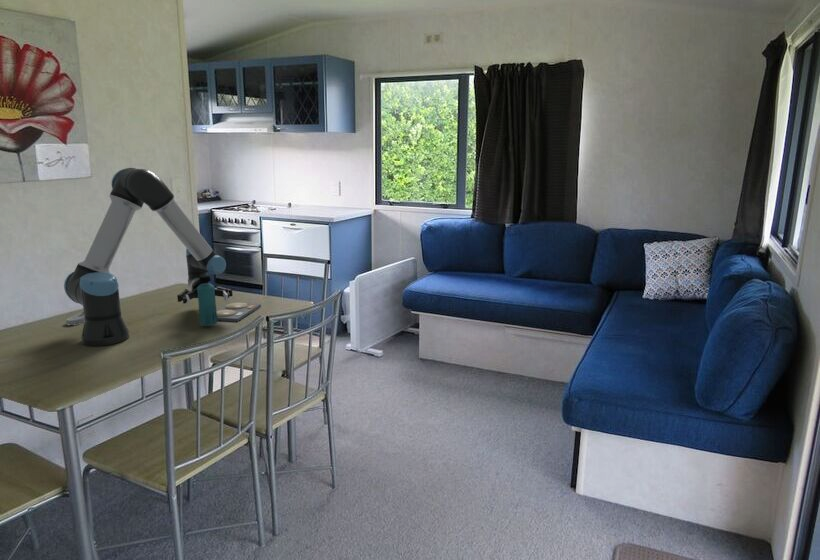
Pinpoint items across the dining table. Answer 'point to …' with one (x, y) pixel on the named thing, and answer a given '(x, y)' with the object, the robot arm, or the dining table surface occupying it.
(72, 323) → the electronic device
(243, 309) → the dark grey flat block
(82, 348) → the dining table surface
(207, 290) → the beverage bottle
